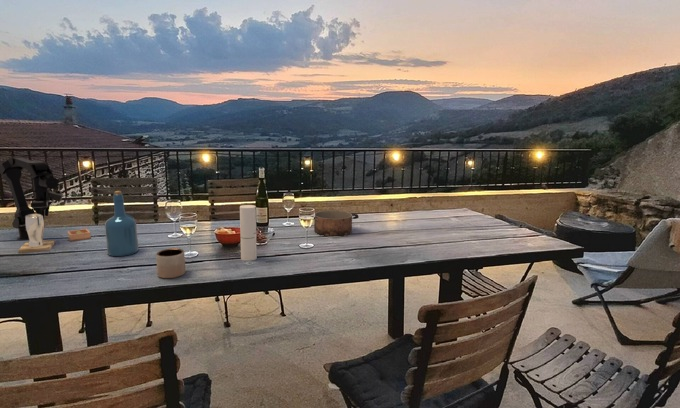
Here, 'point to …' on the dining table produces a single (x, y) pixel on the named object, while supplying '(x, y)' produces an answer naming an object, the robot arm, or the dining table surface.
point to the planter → (170, 263)
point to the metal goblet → (35, 229)
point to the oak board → (45, 247)
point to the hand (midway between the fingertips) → (44, 217)
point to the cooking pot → (333, 223)
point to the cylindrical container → (248, 232)
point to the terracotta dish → (79, 235)
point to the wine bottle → (121, 230)
